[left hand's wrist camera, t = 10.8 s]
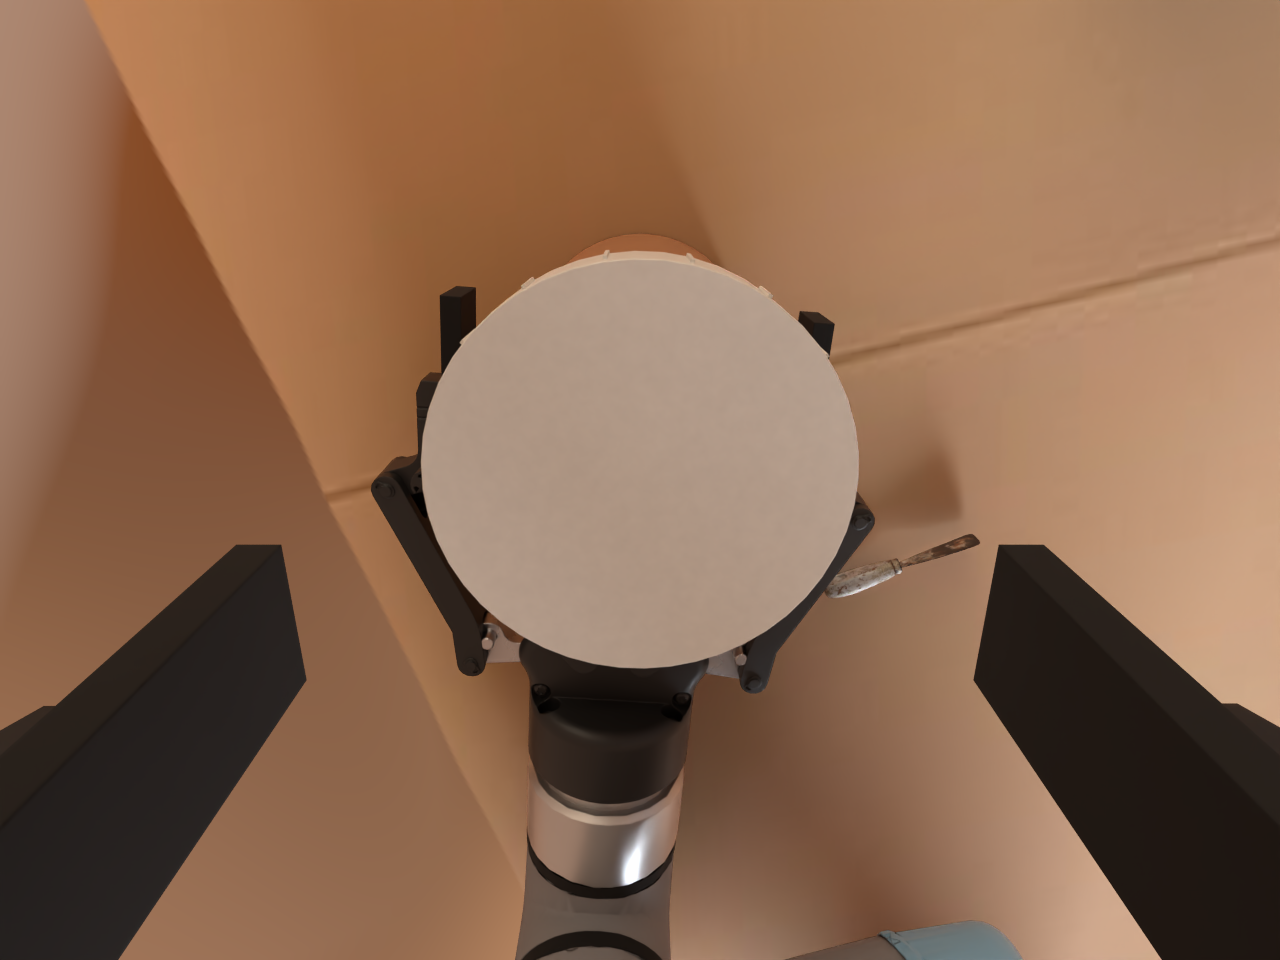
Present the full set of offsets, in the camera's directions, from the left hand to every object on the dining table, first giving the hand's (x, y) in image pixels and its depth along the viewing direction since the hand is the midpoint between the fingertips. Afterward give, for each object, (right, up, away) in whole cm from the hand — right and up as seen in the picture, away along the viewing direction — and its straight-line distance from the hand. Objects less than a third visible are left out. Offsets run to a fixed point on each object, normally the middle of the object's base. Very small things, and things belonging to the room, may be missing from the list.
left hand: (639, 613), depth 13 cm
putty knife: (+13, -2, +27) cm, 30 cm away
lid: (0, +2, +6) cm, 6 cm away
